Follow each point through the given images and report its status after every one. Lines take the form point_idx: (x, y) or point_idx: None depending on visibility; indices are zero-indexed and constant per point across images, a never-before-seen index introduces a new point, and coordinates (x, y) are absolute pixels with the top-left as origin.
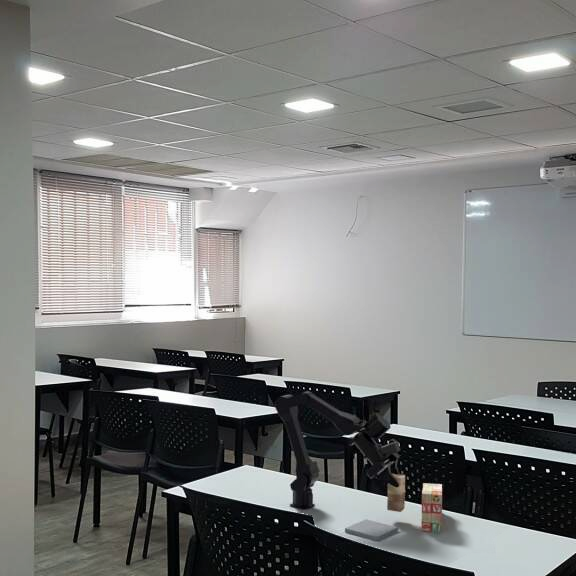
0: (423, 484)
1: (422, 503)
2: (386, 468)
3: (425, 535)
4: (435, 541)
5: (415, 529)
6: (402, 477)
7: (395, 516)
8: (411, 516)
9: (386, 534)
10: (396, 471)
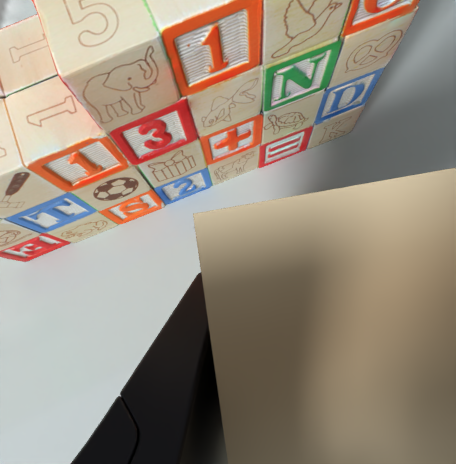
0: (116, 49)
1: (415, 6)
2: None
3: (400, 88)
4: (444, 21)
5: (349, 164)
6: (383, 182)
7: None
8: (152, 280)
9: None
10: (190, 454)
